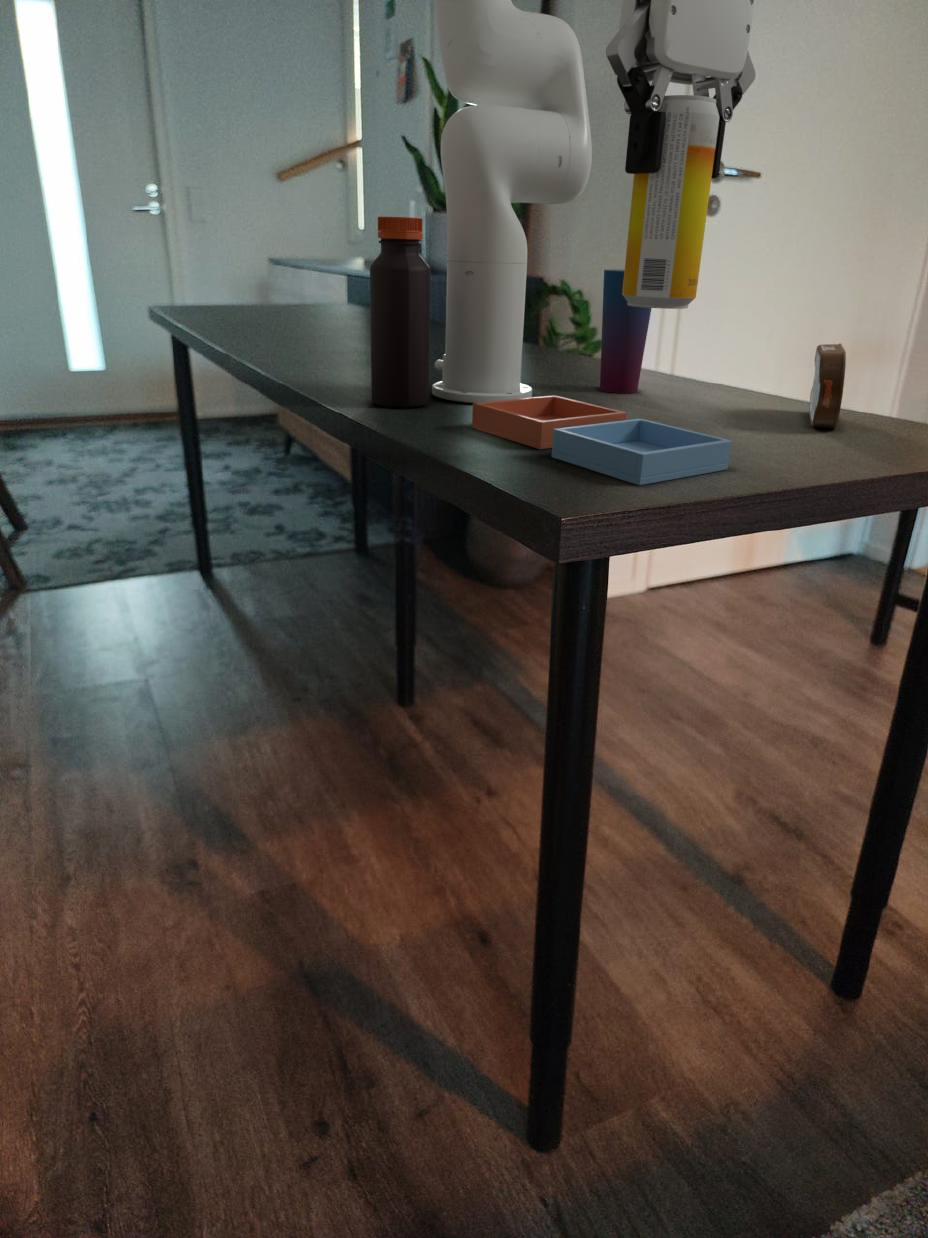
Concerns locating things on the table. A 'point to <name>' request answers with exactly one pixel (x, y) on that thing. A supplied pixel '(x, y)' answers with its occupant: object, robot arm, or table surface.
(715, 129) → the beer can
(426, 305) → the bottle
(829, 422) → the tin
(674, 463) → the blue tray
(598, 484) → the table surface
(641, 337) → the cup
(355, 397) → the table surface
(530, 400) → the terracotta tray
